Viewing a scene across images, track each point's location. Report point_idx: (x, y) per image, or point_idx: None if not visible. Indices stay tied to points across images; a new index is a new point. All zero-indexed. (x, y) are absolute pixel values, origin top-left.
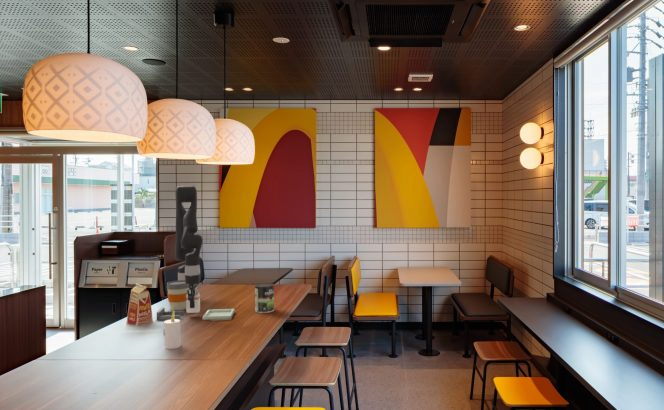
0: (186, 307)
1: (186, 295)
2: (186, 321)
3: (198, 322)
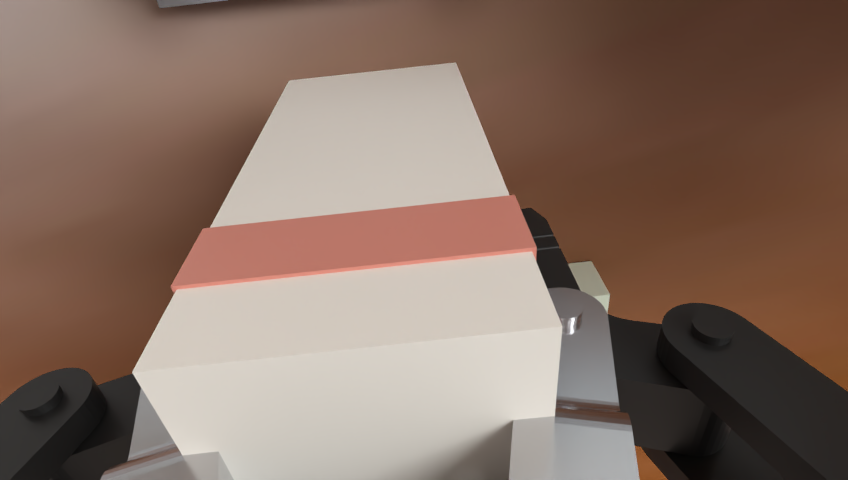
0: (265, 127)
1: (140, 382)
2: (166, 99)
3: (161, 276)
